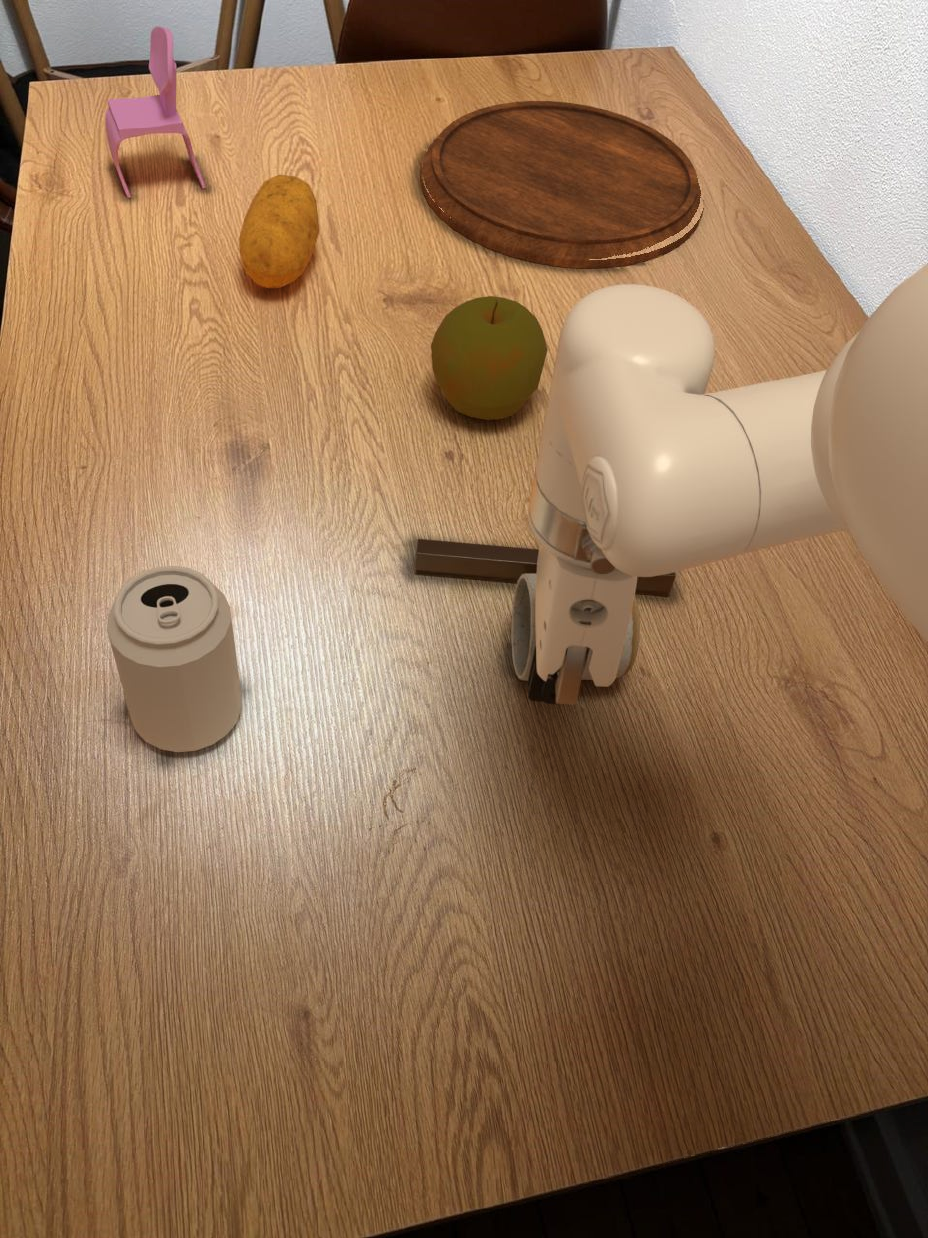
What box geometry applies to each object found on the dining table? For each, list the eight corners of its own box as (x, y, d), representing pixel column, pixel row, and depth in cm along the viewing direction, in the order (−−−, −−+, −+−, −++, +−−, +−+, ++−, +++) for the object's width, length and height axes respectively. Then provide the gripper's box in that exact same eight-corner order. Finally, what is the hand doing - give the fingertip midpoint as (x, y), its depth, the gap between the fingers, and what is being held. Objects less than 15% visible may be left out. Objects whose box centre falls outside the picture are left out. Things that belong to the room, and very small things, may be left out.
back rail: (669, 596, 87) (676, 576, 85) (414, 574, 86) (416, 553, 84) (666, 566, 89) (673, 546, 87) (417, 544, 88) (419, 523, 86)
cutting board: (624, 305, 111) (629, 283, 109) (363, 196, 120) (363, 173, 118) (746, 177, 130) (752, 156, 128) (511, 91, 139) (514, 70, 137)
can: (232, 660, 80) (217, 546, 70) (252, 745, 75) (239, 635, 66) (125, 681, 78) (95, 567, 68) (139, 770, 73) (109, 660, 64)
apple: (521, 364, 104) (537, 261, 96) (551, 433, 98) (570, 329, 90) (417, 374, 102) (423, 269, 93) (441, 444, 96) (450, 339, 88)
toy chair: (110, 163, 120) (84, 18, 109) (191, 154, 123) (174, 11, 111) (124, 203, 116) (99, 56, 104) (208, 193, 118) (193, 48, 107)
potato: (330, 230, 116) (329, 166, 110) (304, 311, 106) (301, 245, 101) (261, 221, 116) (257, 157, 110) (229, 302, 106) (223, 235, 101)
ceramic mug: (629, 699, 80) (652, 631, 74) (518, 702, 79) (531, 633, 73) (604, 590, 87) (622, 520, 81) (501, 591, 86) (512, 520, 80)
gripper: (675, 612, 57) (609, 792, 71) (655, 419, 66) (601, 613, 81) (530, 599, 57) (493, 783, 71) (531, 408, 66) (498, 604, 80)
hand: (550, 692), depth 76 cm, fingers closed
